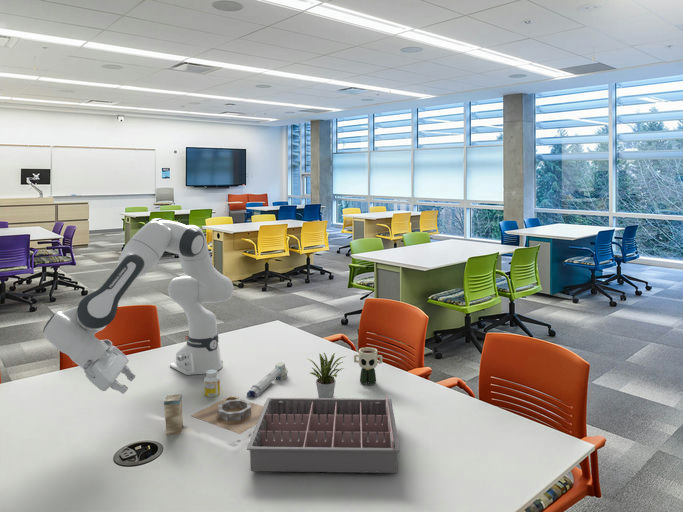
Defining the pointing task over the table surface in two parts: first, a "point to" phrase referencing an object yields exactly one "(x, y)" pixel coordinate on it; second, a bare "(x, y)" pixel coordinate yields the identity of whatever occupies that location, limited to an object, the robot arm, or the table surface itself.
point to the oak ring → (231, 398)
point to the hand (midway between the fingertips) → (130, 384)
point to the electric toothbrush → (268, 380)
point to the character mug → (367, 364)
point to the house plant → (326, 376)
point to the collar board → (230, 424)
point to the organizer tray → (325, 436)
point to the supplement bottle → (212, 383)
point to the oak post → (173, 414)
